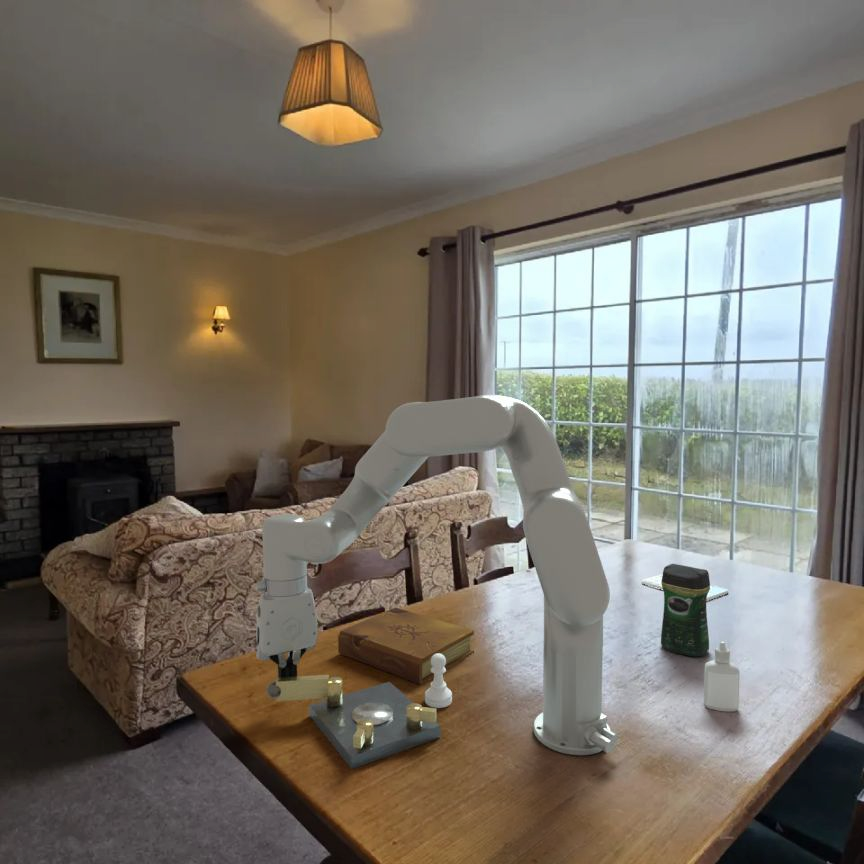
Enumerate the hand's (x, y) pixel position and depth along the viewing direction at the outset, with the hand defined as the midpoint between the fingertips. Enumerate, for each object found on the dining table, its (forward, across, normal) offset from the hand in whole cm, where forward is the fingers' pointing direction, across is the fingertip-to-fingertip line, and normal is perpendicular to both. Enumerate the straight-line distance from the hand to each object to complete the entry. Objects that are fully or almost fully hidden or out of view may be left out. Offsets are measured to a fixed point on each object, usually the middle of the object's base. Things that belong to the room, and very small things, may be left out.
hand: (287, 684), depth 110 cm
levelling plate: (+5, +10, -13) cm, 17 cm away
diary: (+5, +30, +9) cm, 31 cm away
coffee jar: (+5, +82, -22) cm, 85 cm away
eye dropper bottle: (+5, +67, -41) cm, 78 cm away
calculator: (+5, +118, +4) cm, 119 cm away
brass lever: (+3, +2, -4) cm, 5 cm away
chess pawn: (+5, +24, -12) cm, 28 cm away
